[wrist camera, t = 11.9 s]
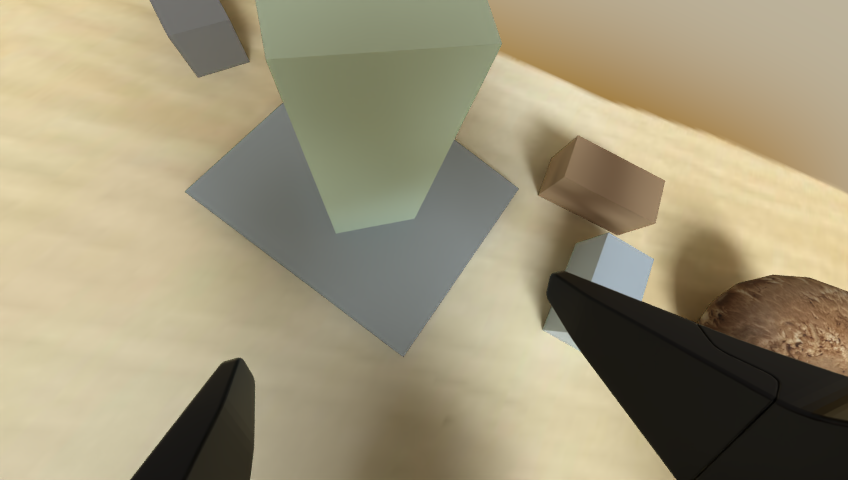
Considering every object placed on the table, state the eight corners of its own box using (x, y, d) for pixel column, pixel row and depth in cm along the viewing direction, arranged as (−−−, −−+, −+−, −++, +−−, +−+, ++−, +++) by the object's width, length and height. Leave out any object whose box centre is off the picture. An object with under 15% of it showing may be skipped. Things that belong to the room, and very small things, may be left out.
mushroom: (816, 245, 19) (957, 288, 13) (812, 357, 21) (935, 439, 15) (665, 265, 21) (728, 309, 15) (673, 365, 23) (732, 438, 17)
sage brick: (414, 218, 18) (502, 43, 6) (336, 233, 17) (265, 59, 5) (397, 148, 18) (446, -122, 7) (321, 159, 18) (232, -135, 6)
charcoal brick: (250, 64, 19) (229, 19, 16) (199, 79, 18) (167, 36, 15) (209, -12, 20) (182, -68, 17) (159, 0, 19) (121, -56, 16)
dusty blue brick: (573, 244, 20) (608, 232, 17) (613, 266, 20) (653, 259, 17) (540, 329, 18) (573, 333, 16) (583, 354, 19) (623, 361, 16)
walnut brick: (625, 198, 22) (665, 180, 19) (615, 235, 21) (655, 223, 18) (549, 159, 21) (578, 135, 18) (536, 196, 20) (564, 176, 18)
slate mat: (514, 192, 20) (518, 188, 19) (402, 355, 16) (403, 357, 16) (339, 59, 20) (338, 52, 19) (190, 195, 16) (184, 191, 16)
